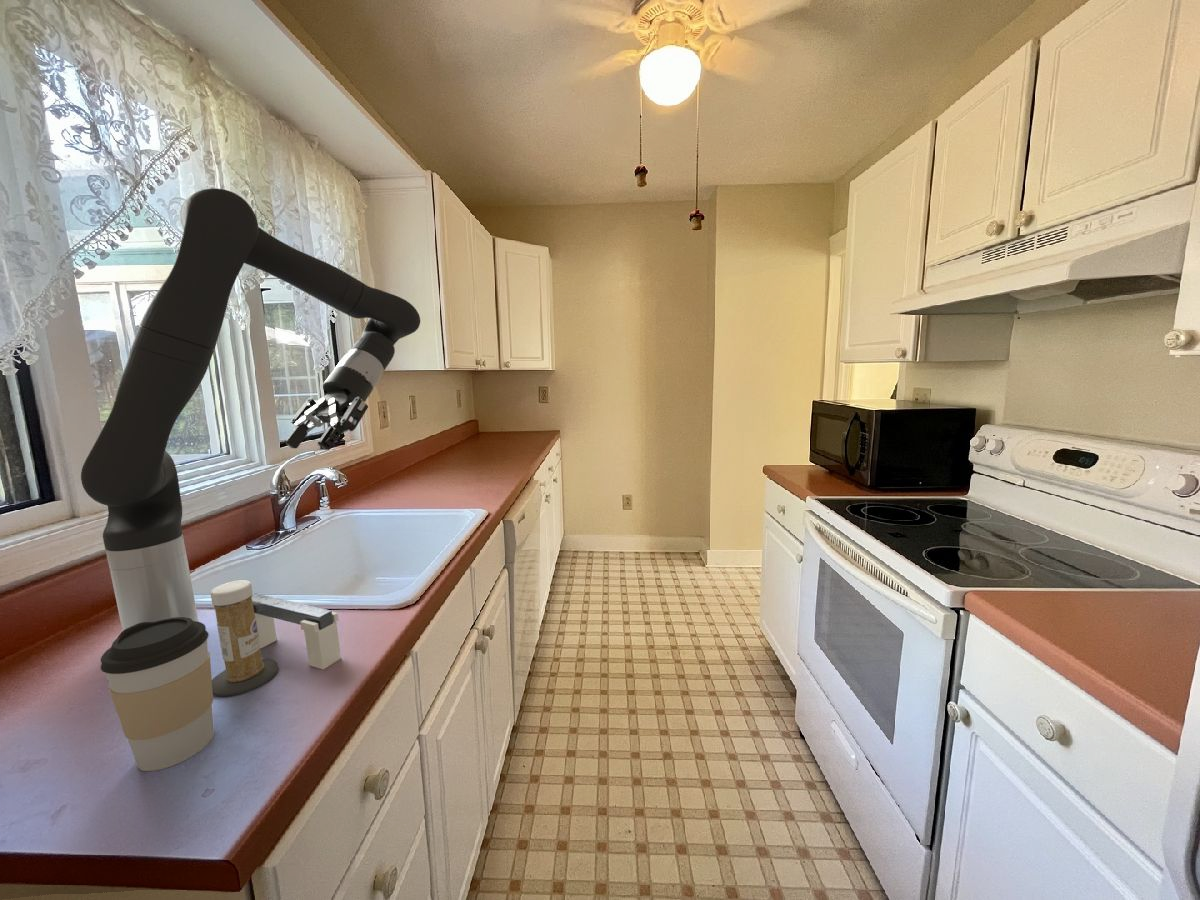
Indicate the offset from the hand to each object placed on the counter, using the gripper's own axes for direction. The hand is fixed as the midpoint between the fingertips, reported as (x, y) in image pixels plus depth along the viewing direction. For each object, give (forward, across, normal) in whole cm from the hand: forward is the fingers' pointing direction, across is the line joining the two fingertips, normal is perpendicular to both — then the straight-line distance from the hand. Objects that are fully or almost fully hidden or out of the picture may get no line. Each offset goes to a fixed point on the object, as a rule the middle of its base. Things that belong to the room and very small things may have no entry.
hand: (306, 446), depth 84 cm
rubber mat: (+35, +7, +8) cm, 37 cm away
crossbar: (+26, +7, +9) cm, 28 cm away
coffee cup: (+43, +14, +1) cm, 45 cm away
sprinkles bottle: (+34, +7, +8) cm, 36 cm away
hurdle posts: (+30, +7, +13) cm, 34 cm away
